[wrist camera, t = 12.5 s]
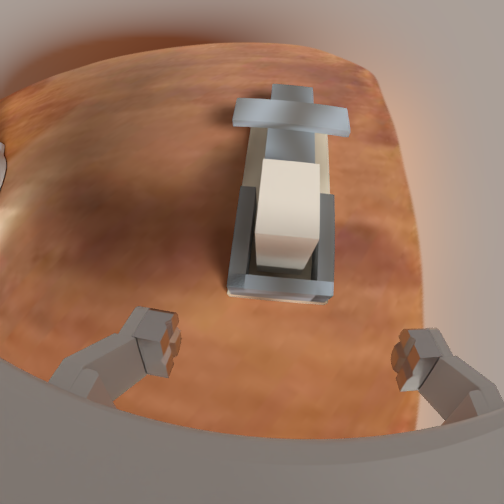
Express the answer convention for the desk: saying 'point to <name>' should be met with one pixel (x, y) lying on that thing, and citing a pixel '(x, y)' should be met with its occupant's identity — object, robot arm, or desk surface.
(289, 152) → the jig
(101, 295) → the desk surface
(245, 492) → the robot arm
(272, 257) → the cream upright slab block
